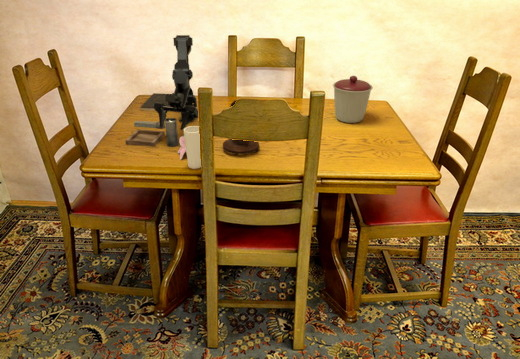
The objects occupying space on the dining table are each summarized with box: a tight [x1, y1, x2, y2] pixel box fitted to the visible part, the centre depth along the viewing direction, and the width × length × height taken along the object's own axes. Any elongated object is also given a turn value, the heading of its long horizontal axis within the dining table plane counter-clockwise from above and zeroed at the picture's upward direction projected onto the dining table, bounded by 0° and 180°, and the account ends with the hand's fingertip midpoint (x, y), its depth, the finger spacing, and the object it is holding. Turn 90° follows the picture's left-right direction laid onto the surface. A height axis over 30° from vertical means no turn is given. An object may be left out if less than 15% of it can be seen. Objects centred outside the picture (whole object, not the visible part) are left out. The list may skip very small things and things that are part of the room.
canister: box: [332, 75, 373, 124], centre depth 213 cm, size 18×18×21 cm
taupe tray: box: [124, 128, 166, 148], centre depth 194 cm, size 12×12×2 cm
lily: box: [177, 135, 186, 161], centre depth 180 cm, size 12×12×10 cm
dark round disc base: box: [222, 99, 260, 157], centre depth 181 cm, size 15×15×20 cm
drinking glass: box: [183, 125, 202, 170], centre depth 168 cm, size 7×7×15 cm
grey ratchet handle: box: [133, 120, 166, 130], centre depth 207 cm, size 14×4×2 cm, turn 81°
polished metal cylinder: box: [164, 117, 179, 148], centre depth 187 cm, size 5×5×11 cm
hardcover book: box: [139, 92, 170, 112], centre depth 236 cm, size 16×23×2 cm
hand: (170, 128), depth 186 cm, fingers open, 9 cm apart
